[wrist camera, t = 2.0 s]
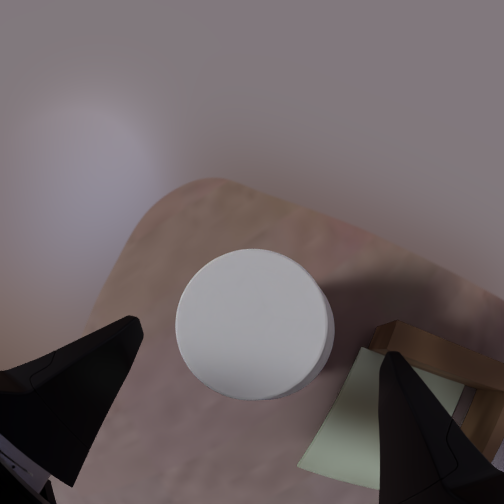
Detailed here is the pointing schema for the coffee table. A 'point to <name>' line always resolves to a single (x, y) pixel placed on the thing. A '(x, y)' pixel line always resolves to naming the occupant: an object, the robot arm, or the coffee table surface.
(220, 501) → the coffee table surface
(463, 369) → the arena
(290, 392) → the pill bottle
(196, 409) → the coffee table surface
